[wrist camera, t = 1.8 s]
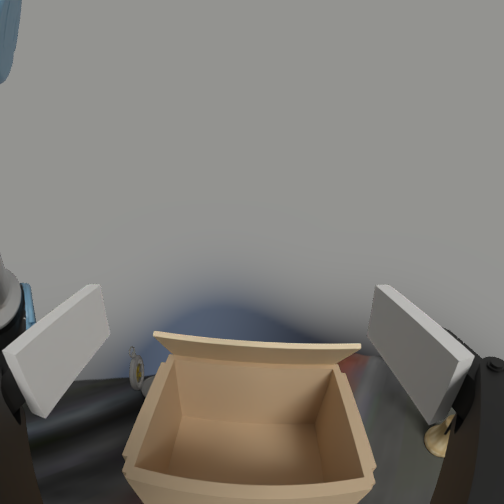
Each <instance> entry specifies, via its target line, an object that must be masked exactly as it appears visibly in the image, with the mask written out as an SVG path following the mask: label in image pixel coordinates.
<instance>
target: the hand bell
mask: <svg viewBox="0 0 504 504" xmlns="http://www.w3.org/2000/svg"><path fill="white" fill-rule="evenodd" d="M454 416H455V415H450V416H449V417H447V419H446V420H445V421H444V422H443V423H442V424H440V425H435V426H433V427H431V428H430V429H428V431H427V432H426V434H425V437H424V442H425V446H426V448H427V449H428V450H429V451H430V452H431V453H432V454H433V455H435V456H438V457H445V453H446V449H447V444H448V440H449V435H450V430H449V431H448V433H447V435H444V433H445V431H446V429H447V428H448V426H449V424H450V422H451V421H452V419H453V417H454Z"/></svg>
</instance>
